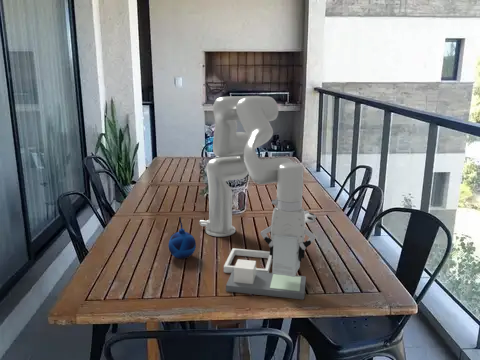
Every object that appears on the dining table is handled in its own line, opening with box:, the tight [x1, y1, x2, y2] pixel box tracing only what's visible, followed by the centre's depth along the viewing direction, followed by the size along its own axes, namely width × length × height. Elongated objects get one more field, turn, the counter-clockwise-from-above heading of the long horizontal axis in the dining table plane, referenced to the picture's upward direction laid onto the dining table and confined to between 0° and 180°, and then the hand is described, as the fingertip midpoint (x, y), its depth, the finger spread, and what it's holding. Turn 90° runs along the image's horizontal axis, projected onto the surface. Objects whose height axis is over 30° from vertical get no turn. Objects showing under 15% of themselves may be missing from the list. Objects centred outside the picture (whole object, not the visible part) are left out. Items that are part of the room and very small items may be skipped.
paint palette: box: [304, 209, 317, 224], centre depth 197 cm, size 20×20×2 cm
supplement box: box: [271, 235, 301, 277], centre depth 130 cm, size 7×7×13 cm
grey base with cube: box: [225, 258, 307, 300], centre depth 134 cm, size 24×11×7 cm, turn 79°
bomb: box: [167, 216, 197, 260], centre depth 153 cm, size 10×11×15 cm
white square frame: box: [223, 247, 273, 274], centre depth 149 cm, size 15×15×2 cm
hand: (286, 258), depth 131 cm, fingers closed on supplement box, 8 cm apart
